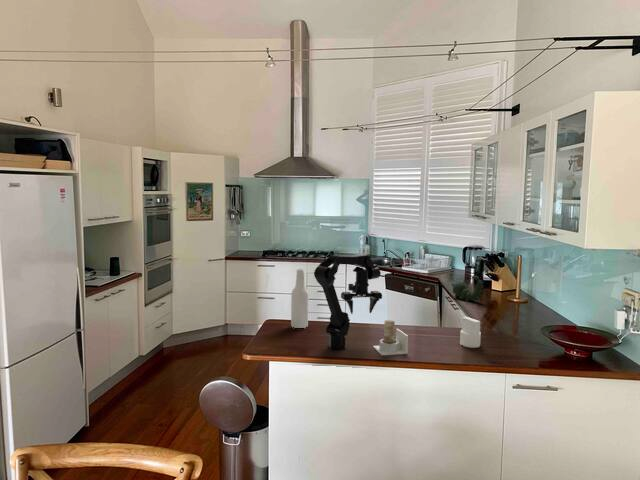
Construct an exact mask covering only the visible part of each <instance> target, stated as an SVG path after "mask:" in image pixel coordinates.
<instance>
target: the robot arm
mask: <svg viewBox="0 0 640 480" xmlns="http://www.w3.org/2000/svg"><path fill="white" fill-rule="evenodd" d="M340 265H354V266H355V268H354V269H353V270H352V272H354V273H355V282H354V283H348V288H347V289H348V291H341V294H340V298H341V299H342V300H343V301H345V302H346V303H347V305H348V308H349V310H350V311H349V312H350V314H351V315H353V313H354V300H353V298H354V299H355V298H369V307H368V309H369V313H370V314H371V313H372V312H373V310H374V309H375V306H376V304H377V303H378V301H379V302H380V300H381V299H383V293H382V292H380V291H379V290H370V292H369V286H370V284H369V280H375V279H379V278H380V277H381V269H380V268H379V267H378V264H374V262H373V261H372V258H371V255H369V254H366V253H365V254H363V253H355V254H352V255H336V254H331V255H329V256H328V258H327V259H325V260H324V261H322V262H320V264H318V266H316V268H315V269H314V271H313V275H314V278H315V280H316V282H317V283H318V284H319V285H320V286H321V288H322V290H323V293H324V296H325V299H326V302H327V304H328V305H327V306H328V308H329V312H330V317H329V323H328V325H327V327H326V328H325V331H326V333H327V334H328V344H327V346H328V348H329V349H330V350H331V351H336V350H346V336H348V333H349V330H350V321H351V319H350V317H349V314H348V312H344V311H343V310H342V308H341V303H340V301H339V298H338V295H337V291H336V288H335V285H334V284H335V280H336V277H335V276H336V274H337V273H338V270H339V266H340ZM330 266H331V267H330Z"/></svg>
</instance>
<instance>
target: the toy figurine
mask: <svg viewBox="0 0 640 480" xmlns="http://www.w3.org/2000/svg"><path fill="white" fill-rule="evenodd" d="M471 279H472V280H473V279H474V280H475V281H477V283H476V285H475V288H474V291H471V290H470V289H469V288H468V287H467V285H466V284H465V283H463V282H460V281H458V282H456V283H450V285H451V287H452V293H453V294H454V297H455V298H456V299H461V300H463V301H464V300H465V301H466V302H467V301H468V302H469V301H471V302H475V301H477V302H478V301H479V298H482V297H483V294H481V293H483V292H484V290H483V289H482V288H484V284H485V282H484V281H483V280H481V279H480V277H479V276H477V275H473V276H472V277H471Z"/></svg>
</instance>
